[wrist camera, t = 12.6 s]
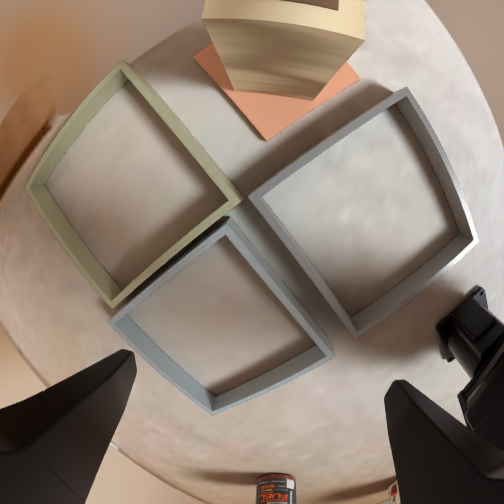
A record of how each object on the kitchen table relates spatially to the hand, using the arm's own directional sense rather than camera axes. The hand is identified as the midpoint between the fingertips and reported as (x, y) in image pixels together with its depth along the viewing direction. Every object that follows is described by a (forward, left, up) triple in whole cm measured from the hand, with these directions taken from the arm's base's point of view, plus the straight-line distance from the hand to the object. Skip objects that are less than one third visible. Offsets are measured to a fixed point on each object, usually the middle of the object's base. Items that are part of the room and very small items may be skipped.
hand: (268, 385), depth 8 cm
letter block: (+10, -9, -11) cm, 18 cm away
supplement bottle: (-30, +20, -12) cm, 38 cm away
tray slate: (-3, +7, -12) cm, 14 cm away
